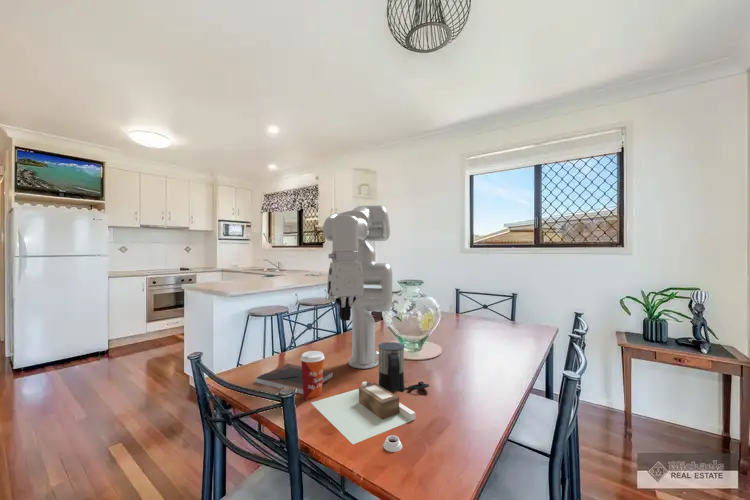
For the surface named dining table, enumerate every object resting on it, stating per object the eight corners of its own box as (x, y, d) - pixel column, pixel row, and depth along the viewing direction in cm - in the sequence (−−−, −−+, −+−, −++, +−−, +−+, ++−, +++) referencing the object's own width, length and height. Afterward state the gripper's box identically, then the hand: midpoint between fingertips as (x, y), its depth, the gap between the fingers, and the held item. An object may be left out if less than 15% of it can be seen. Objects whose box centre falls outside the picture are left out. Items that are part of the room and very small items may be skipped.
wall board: (365, 390, 107) (365, 374, 107) (415, 423, 87) (415, 404, 87) (310, 406, 96) (310, 389, 96) (352, 449, 75) (352, 427, 75)
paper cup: (313, 405, 97) (313, 359, 97) (295, 399, 101) (295, 355, 101) (329, 395, 103) (329, 352, 103) (312, 389, 107) (312, 348, 107)
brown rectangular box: (358, 402, 96) (359, 387, 96) (375, 397, 100) (375, 382, 100) (382, 419, 86) (382, 402, 86) (399, 413, 90) (399, 397, 90)
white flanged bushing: (386, 443, 78) (379, 455, 73) (386, 431, 78) (379, 442, 73) (405, 447, 76) (399, 460, 72) (405, 435, 76) (399, 447, 72)
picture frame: (256, 384, 113) (304, 396, 104) (256, 377, 113) (304, 389, 104) (287, 368, 128) (332, 378, 119) (287, 362, 128) (332, 371, 119)
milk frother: (373, 385, 111) (373, 343, 111) (412, 378, 117) (413, 338, 117) (391, 403, 98) (391, 355, 98) (434, 394, 104) (434, 349, 104)
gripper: (327, 258, 85) (327, 325, 85) (373, 257, 94) (373, 319, 94) (316, 257, 92) (316, 320, 92) (359, 257, 100) (359, 314, 100)
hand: (344, 319), depth 93 cm, fingers closed
